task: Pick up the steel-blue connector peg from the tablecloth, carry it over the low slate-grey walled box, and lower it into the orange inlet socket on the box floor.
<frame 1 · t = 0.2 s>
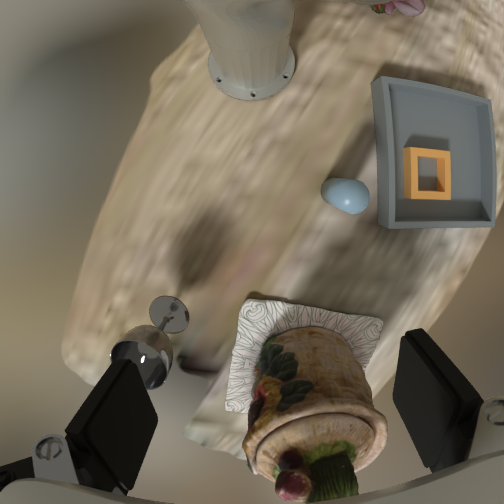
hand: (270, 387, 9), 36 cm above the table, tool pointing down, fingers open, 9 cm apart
inlet: (421, 173, 41), resting on walled box
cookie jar: (300, 365, 51), on the table
connector: (333, 191, 43), on the table
walled box: (435, 156, 40), on the table
wine glass: (169, 314, 49), on the table
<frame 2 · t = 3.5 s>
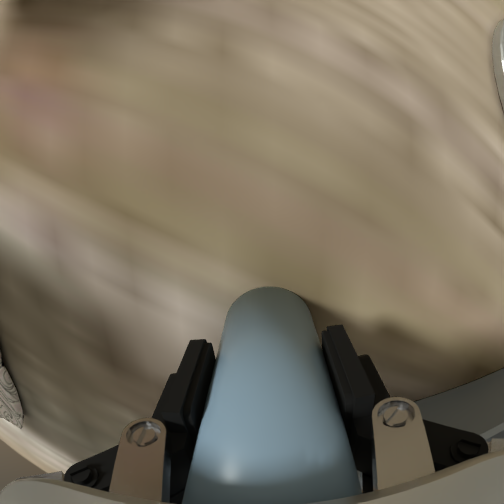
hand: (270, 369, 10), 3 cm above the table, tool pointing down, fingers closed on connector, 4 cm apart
connector: (268, 326, 14), on the table, touching gripper
walled box: (360, 492, 18), on the table
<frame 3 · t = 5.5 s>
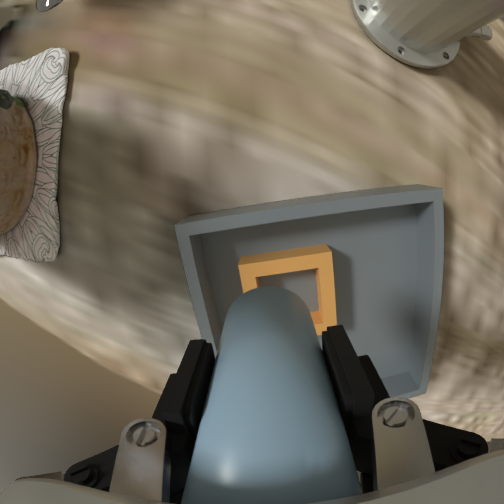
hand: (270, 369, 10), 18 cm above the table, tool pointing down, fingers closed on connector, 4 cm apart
inlet: (288, 285, 28), resting on walled box
connector: (268, 326, 14), point 14 cm above the table, touching gripper
walled box: (321, 308, 29), on the table
when the fingers open (5 cm above the table, at t = 7.7 s): connector stays where it is, resting on walled box.
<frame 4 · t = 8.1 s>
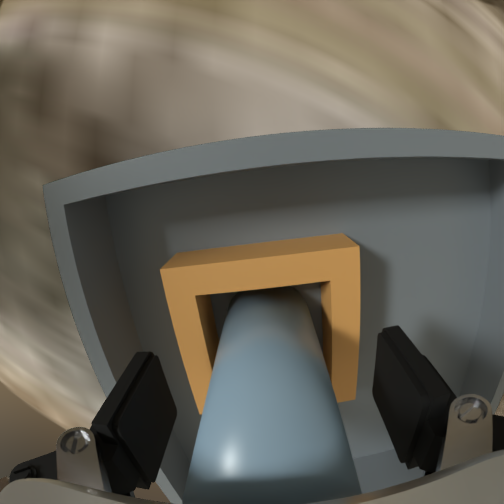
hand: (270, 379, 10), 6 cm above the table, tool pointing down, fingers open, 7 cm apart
inlet: (268, 310, 15), resting on walled box
connector: (267, 319, 14), point 1 cm above the table, touching walled box
walled box: (327, 351, 16), on the table
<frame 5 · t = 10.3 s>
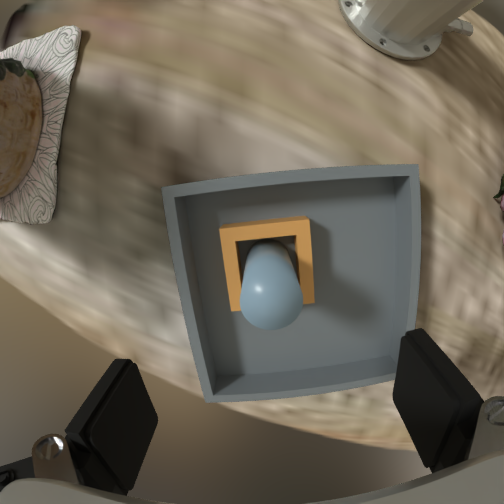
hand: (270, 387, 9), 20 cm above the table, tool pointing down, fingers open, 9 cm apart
inlet: (268, 257, 29), resting on walled box
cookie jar: (5, 129, 27), on the table
connector: (267, 259, 29), point 1 cm above the table, touching walled box
walled box: (300, 282, 30), on the table
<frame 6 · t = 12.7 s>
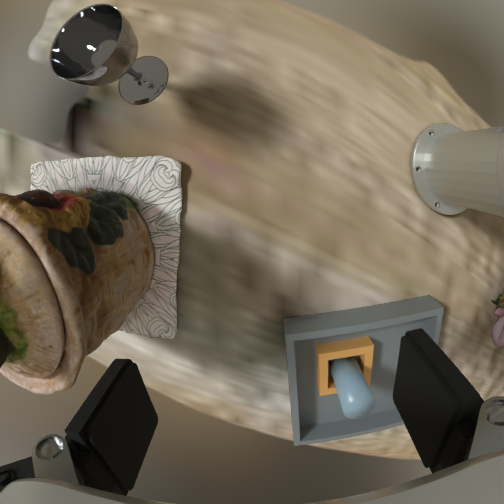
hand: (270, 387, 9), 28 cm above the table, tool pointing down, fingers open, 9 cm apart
inlet: (340, 358, 41), resting on walled box
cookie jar: (100, 245, 38), on the table
connector: (342, 361, 40), point 1 cm above the table, touching walled box
walled box: (359, 370, 42), on the table
wine glass: (142, 79, 32), on the table
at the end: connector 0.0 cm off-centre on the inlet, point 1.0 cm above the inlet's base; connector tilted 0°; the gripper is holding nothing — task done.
